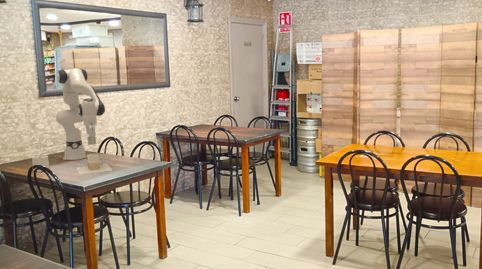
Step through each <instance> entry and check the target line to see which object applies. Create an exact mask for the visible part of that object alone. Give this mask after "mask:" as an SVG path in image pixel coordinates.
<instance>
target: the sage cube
mask: <svg viewBox="0 0 482 269" xmlns="http://www.w3.org/2000/svg"><path fill="white" fill-rule="evenodd" d="M86 139H87V145H90V146H92V145H97V138H96V136H95V137H94V142H93V143H91V138H90V137H89V136H87V138H86Z"/></svg>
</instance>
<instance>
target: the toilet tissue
mask: <svg viewBox="0 0 482 269" xmlns="http://www.w3.org/2000/svg"><path fill="white" fill-rule="evenodd" d="M31 161H32V167H33V166H34V165H42V166H45V167H47V168H49V169H50V161H49V155H46V154H39V155H35V156H32V158H31ZM32 170H33V169H32ZM32 172H34V170H33V171H32ZM36 173H42V171H41V170H37V172H36Z"/></svg>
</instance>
